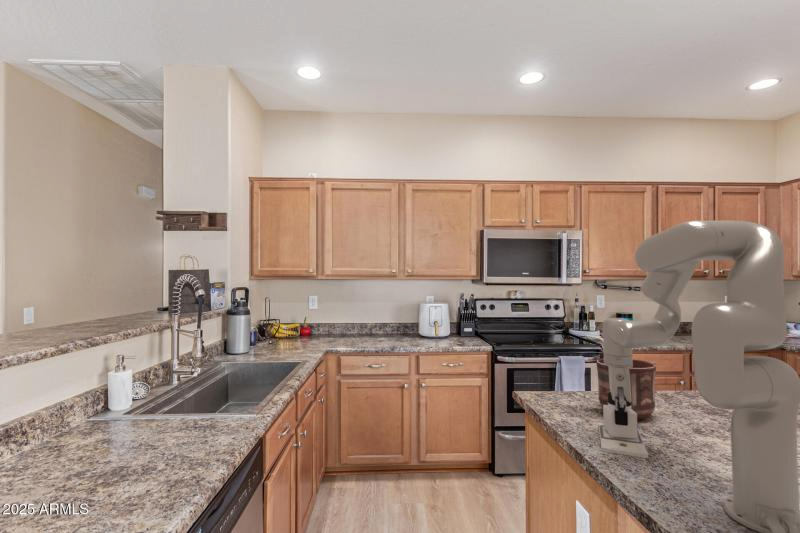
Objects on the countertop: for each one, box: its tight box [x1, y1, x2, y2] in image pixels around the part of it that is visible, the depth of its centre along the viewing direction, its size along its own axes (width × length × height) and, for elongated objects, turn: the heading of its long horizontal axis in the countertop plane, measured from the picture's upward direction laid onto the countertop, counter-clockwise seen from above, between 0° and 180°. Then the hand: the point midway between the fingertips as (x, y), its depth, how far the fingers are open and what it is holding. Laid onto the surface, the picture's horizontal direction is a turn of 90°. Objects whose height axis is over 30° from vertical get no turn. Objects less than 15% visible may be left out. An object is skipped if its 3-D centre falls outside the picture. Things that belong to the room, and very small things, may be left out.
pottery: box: [596, 357, 657, 422], centre depth 134 cm, size 18×18×18 cm
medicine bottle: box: [602, 392, 639, 439], centre depth 115 cm, size 7×7×12 cm
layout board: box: [597, 422, 649, 459], centre depth 113 cm, size 20×11×1 cm, turn 156°
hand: (619, 419), depth 115 cm, fingers closed on medicine bottle, 8 cm apart
